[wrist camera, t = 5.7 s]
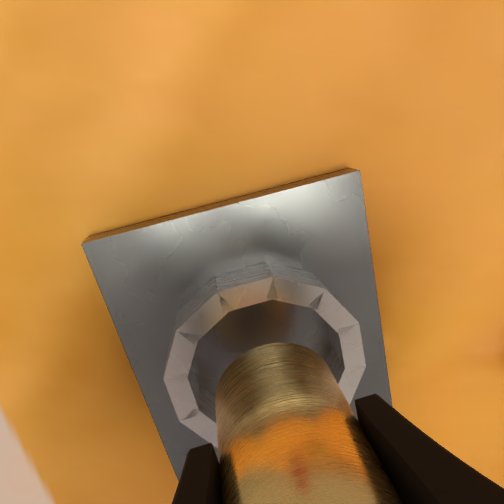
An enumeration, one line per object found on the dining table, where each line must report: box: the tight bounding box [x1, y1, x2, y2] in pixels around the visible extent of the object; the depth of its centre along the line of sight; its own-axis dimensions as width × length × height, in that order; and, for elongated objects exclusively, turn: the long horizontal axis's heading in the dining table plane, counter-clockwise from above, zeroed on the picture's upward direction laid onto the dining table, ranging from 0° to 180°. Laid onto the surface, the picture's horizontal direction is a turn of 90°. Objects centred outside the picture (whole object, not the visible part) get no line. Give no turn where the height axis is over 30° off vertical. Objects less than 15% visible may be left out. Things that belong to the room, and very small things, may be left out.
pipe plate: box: [81, 168, 392, 481], centre depth 16 cm, size 18×10×2 cm, turn 13°
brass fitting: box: [215, 343, 403, 504], centre depth 9 cm, size 4×4×7 cm
